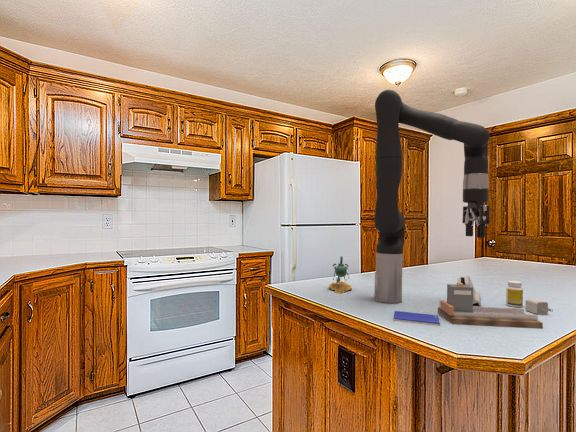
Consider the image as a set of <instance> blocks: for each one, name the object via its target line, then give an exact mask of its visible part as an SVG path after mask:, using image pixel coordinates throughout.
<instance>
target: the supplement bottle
mask: <svg viewBox="0 0 576 432" xmlns="http://www.w3.org/2000/svg"><path fill="white" fill-rule="evenodd" d="M507 285H508V286H506V300H505V301H506V302H505V303H506V306H508V307H511V308H523V302H524V300H523V299H524V297H523V296H524V293H523V292H524V291H523V290H524V289H523V287H522V286H523V284H522V282H521V281H519V280H508V281H507Z"/></svg>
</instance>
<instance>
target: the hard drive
mask: <svg viewBox="0 0 576 432" xmlns="http://www.w3.org/2000/svg"><path fill="white" fill-rule="evenodd" d="M393 322H399V323H400V322H402V323H408V324H409V323H410V324H417V325H427V326H428V325H429V326H434V327H435V326H436V327H441V321H440V318H439V315H438V314H430V313H429V314H428V313H419V312H410V311H399V310H394V314H393Z"/></svg>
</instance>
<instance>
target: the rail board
mask: <svg viewBox="0 0 576 432" xmlns="http://www.w3.org/2000/svg"><path fill="white" fill-rule="evenodd" d="M439 301H440V305H439V307H438V308H437V313H439V315H441V316H442V317H443V318H445V319H446V320H447V321H448V322H449V323H451V324H452V325H467V326H468V325H469V326H487V327H488V326H491V327H505V328H506V327H508V328H526V329H527V328H528V329H543V327H544V324H543V322H542V321H540V320H539V316H538V315H537V314H527V313H525V309H524V308H521V307H494V306H493V307H492V306H481V307H480V306H474V305H473V312H463V311H454V307H453V306H452V305H450V304H449V303H447V300H443V299H442V300H439Z"/></svg>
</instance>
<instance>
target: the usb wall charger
mask: <svg viewBox="0 0 576 432" xmlns="http://www.w3.org/2000/svg"><path fill="white" fill-rule="evenodd" d="M524 311H526V312H529V313H531V312H532V314H533V315H537V316H538V315H539V316H540V315H545V316H546V315H548V313H549V312H551V313H552V312H553V308H550V307H549V303H548V302H547V301H543V300H539V299H536V298H526V299H525V309H524Z"/></svg>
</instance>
